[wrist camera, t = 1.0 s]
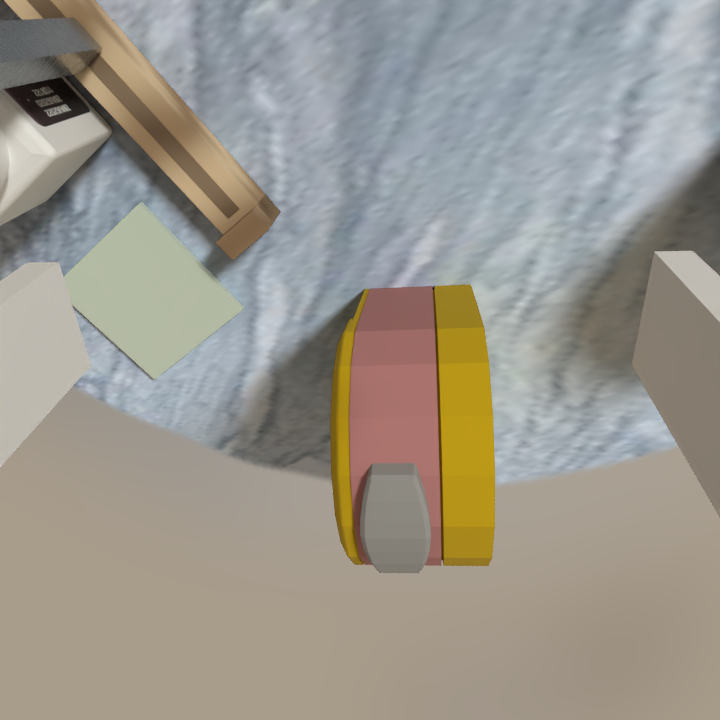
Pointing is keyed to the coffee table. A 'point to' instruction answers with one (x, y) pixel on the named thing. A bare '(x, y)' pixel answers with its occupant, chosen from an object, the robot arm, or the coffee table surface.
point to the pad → (149, 292)
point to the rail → (164, 126)
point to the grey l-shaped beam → (43, 50)
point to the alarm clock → (414, 431)
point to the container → (43, 141)
